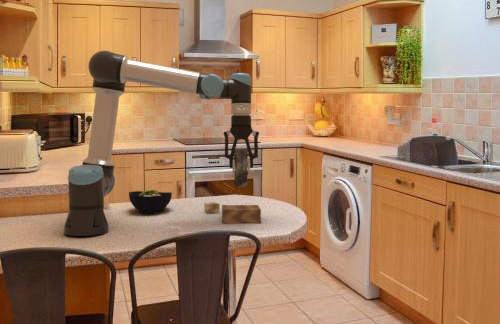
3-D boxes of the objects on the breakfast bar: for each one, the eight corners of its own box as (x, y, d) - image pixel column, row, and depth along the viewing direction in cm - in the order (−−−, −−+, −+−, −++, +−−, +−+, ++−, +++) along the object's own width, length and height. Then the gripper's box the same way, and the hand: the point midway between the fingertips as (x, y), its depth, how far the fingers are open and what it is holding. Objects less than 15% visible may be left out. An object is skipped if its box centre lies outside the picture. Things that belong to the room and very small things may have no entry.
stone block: (234, 188, 201) (248, 187, 201) (233, 149, 200) (247, 148, 200) (234, 185, 209) (248, 185, 210) (233, 148, 209) (247, 148, 209)
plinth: (222, 223, 199) (222, 210, 198) (222, 217, 213) (222, 205, 212) (260, 223, 200) (260, 209, 199) (257, 217, 213) (257, 204, 213)
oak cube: (207, 216, 216) (207, 204, 216) (204, 214, 221) (204, 202, 221) (219, 216, 218) (219, 203, 217) (216, 214, 222) (216, 202, 222)
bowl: (164, 217, 212) (164, 192, 211) (122, 216, 215) (122, 191, 214) (176, 211, 229) (176, 188, 228) (138, 210, 231) (137, 187, 231)
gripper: (217, 114, 200) (217, 177, 201) (266, 114, 201) (266, 177, 202) (217, 115, 207) (217, 176, 208) (264, 115, 208) (264, 175, 210)
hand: (241, 176), depth 205 cm, fingers closed on stone block, 5 cm apart
